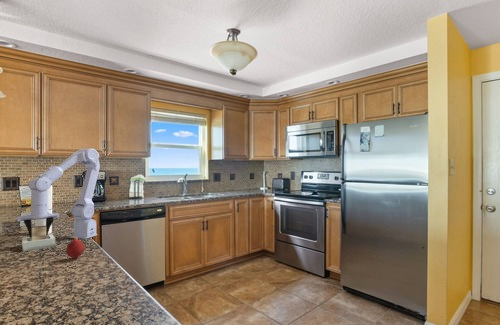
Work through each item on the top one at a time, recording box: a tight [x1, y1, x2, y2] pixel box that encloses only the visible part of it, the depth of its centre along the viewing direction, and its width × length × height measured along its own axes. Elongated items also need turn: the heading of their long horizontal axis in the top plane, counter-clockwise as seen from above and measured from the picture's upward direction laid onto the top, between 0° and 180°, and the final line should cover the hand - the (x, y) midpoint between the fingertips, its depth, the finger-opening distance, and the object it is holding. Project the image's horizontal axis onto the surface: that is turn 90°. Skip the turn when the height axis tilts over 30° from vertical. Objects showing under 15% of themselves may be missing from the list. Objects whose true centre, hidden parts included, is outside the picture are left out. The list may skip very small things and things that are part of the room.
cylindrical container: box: [34, 184, 53, 235], centre depth 147 cm, size 7×7×25 cm
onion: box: [65, 237, 86, 260], centre depth 105 cm, size 6×6×8 cm
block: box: [31, 225, 46, 241], centre depth 123 cm, size 5×5×6 cm
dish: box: [21, 233, 56, 252], centre depth 122 cm, size 11×11×4 cm
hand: (38, 236), depth 122 cm, fingers closed on block, 5 cm apart
